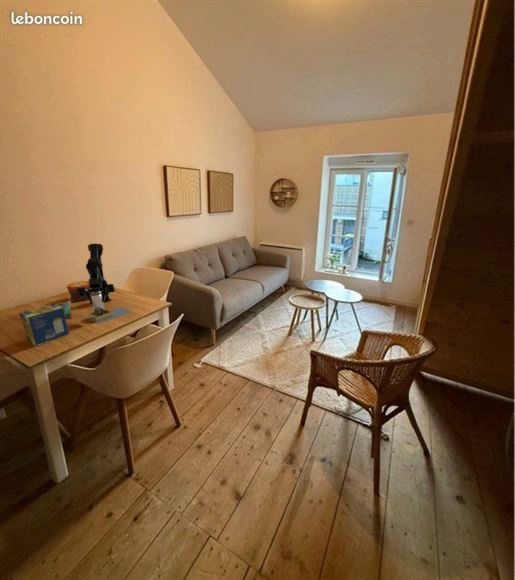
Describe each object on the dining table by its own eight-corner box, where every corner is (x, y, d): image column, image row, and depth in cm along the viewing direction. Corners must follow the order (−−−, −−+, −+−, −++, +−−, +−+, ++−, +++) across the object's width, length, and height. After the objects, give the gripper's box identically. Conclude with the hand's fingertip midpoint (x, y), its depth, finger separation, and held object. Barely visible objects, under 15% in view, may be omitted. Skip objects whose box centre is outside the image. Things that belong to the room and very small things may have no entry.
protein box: (27, 341, 143) (18, 312, 138) (60, 329, 155) (54, 303, 150) (35, 346, 138) (27, 317, 133) (69, 334, 150) (63, 307, 145)
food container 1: (54, 324, 162) (49, 307, 159) (49, 321, 166) (45, 305, 162) (77, 317, 171) (73, 301, 168) (73, 314, 175) (69, 299, 172)
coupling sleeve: (93, 310, 167) (89, 291, 163) (104, 308, 170) (100, 289, 166) (94, 314, 162) (90, 294, 158) (105, 311, 165) (102, 292, 162)
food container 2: (64, 301, 197) (60, 286, 194) (83, 293, 212) (80, 280, 208) (82, 303, 193) (78, 288, 189) (100, 295, 207) (98, 281, 204)
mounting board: (87, 320, 167) (86, 318, 166) (120, 308, 183) (120, 306, 183) (99, 325, 159) (99, 323, 159) (133, 313, 176) (133, 311, 175)
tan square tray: (88, 318, 166) (87, 313, 165) (104, 313, 173) (103, 308, 172) (96, 322, 161) (95, 317, 160) (112, 316, 168) (112, 311, 167)
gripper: (73, 274, 159) (74, 299, 153) (110, 270, 166) (113, 294, 160) (78, 283, 168) (80, 307, 162) (113, 280, 175) (116, 302, 169)
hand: (97, 302), depth 163 cm, fingers closed on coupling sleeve, 6 cm apart
